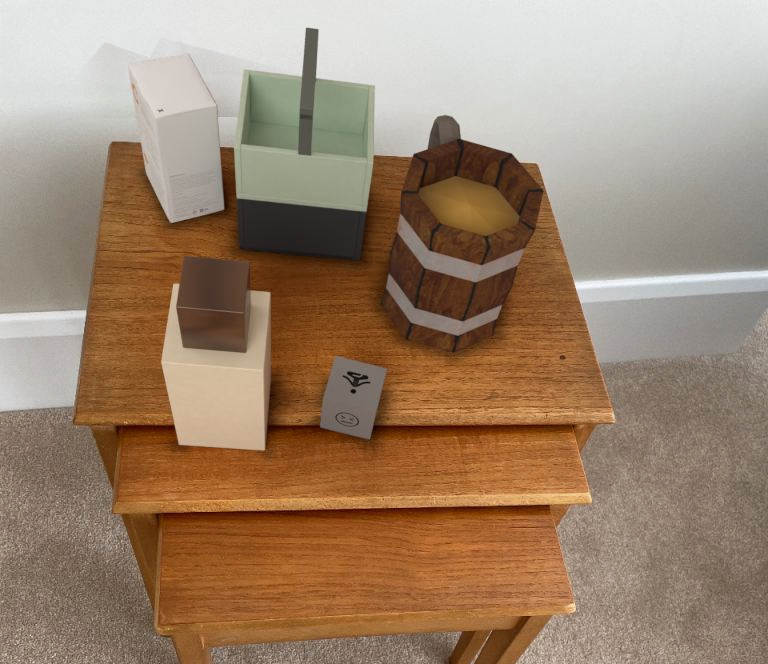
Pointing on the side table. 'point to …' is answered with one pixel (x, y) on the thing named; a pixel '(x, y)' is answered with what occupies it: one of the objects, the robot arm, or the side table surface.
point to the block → (214, 304)
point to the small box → (178, 136)
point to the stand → (220, 384)
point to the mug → (458, 239)
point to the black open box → (300, 229)
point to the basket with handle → (305, 137)
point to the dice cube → (352, 397)
